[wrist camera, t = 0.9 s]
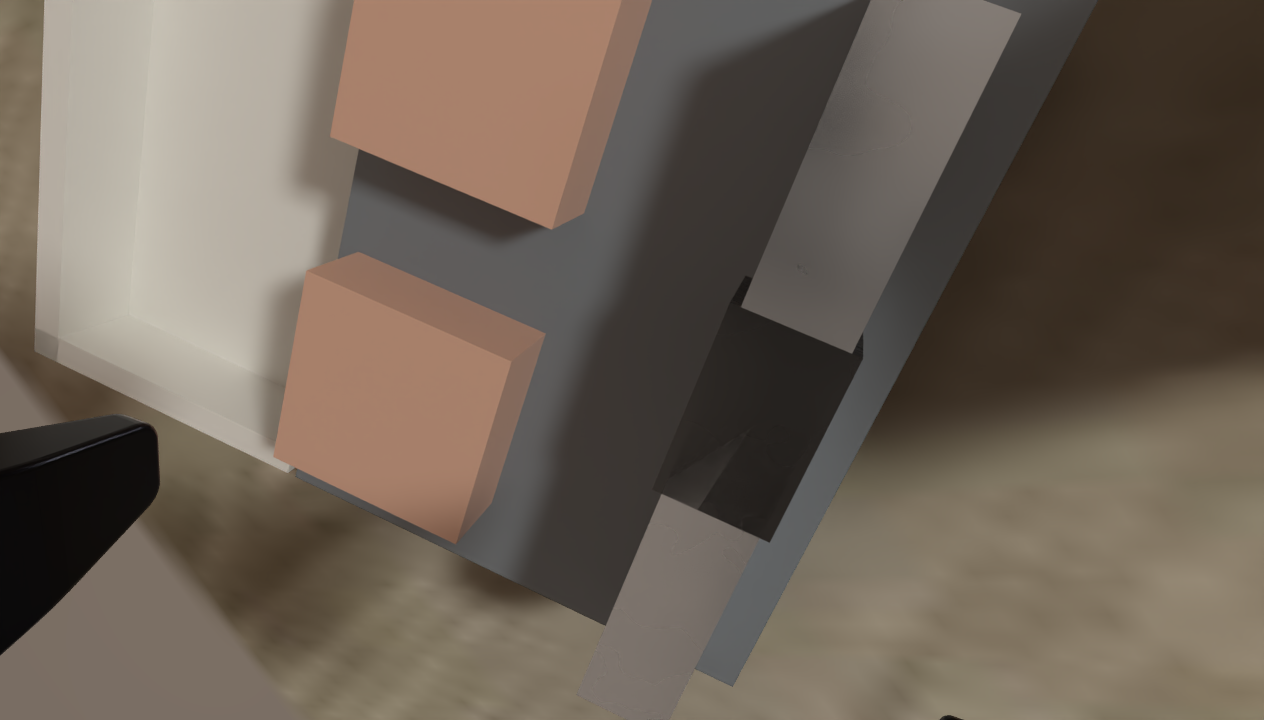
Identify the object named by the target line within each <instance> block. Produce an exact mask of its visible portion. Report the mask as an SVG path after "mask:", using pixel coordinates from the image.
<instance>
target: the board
mask: <svg viewBox="0 0 1264 720" xmlns="http://www.w3.org/2000/svg"><path fill="white" fill-rule="evenodd" d="M870 1H871V0H652V2H651V5H650V9H649V12H648V15H647V18H646V21H645V24H644V27H643V30H642V34H641V37H640V40H639V43H638V46H637V49H636V52H635V56H634V59H633V62H632V65H631V68H630V71H629V74H628V77H627V81H626V84H625V87H624V90H623V93H622V96H621V99H620V103H619V106H618V109H617V112H616V115H615V118H614V121H613V124H612V128H611V131H610V134H609V137H608V140H607V143H606V146H605V149H604V153H603V156H602V159H601V162H600V165H599V168H598V171H597V175H596V178H595V181H594V184H593V187H592V190H591V193H590V196H589V200H588V203H587V206H586V209H585V212H584V214H582V215H580V216H578V217H576V218H574V219H572V220H570V221H568V222H566V223H564V224H562V225H560V226H558V227H556V228H554V229H552V230H551V229H549V228H547V227H544V226H542V225H539V224H537V223H535V222H532V221H530V220H528V219H525V218H523V217H520V216H518V215H516V214H513V213H511V212H509V211H506V210H504V209H501V208H499V207H497V206H494V205H492V204H489V203H487V202H485V201H482V200H480V199H478V198H475V197H473V196H470V195H468V194H466V193H463V192H461V191H458V190H456V189H454V188H451V187H449V186H447V185H444V184H442V183H439V182H437V181H435V180H432V179H430V178H427V177H425V176H423V175H420V174H418V173H416V172H413V171H411V170H408V169H406V168H404V167H401V166H399V165H396V164H394V163H392V162H389V161H387V160H385V159H382V158H380V157H377V156H375V155H373V154H370V153H368V152H365V151H363V150H361V149H359V151H358V156H357V161H356V166H355V171H354V177H353V182H352V187H351V192H350V197H349V203H348V208H347V213H346V218H345V223H344V228H343V234H342V239H341V244H340V249H339V254H338V259H340V258H342V257H345V256H348V255H351V254H354V253H356V252H360V253H363V254H365V255H367V256H370V257H372V258H374V259H376V260H379V261H381V262H383V263H386V264H388V265H390V266H392V267H395V268H397V269H399V270H402V271H404V272H406V273H408V274H411V275H413V276H415V277H418V278H420V279H422V280H424V281H427V282H429V283H431V284H434V285H436V286H438V287H440V288H443V289H445V290H447V291H450V292H452V293H454V294H456V295H459V296H461V297H463V298H466V299H468V300H470V301H473V302H475V303H477V304H479V305H482V306H484V307H486V308H489V309H491V310H493V311H495V312H498V313H500V314H502V315H505V316H507V317H509V318H511V319H514V320H516V321H518V322H521V323H523V324H525V325H527V326H530V327H532V328H534V329H537V330H539V331H541V332H543V333H546V334H545V337H544V340H543V344H542V347H541V350H540V353H539V356H538V359H537V362H536V366H535V369H534V372H533V375H532V378H531V381H530V384H529V387H528V391H527V394H526V397H525V400H524V403H523V406H522V409H521V412H520V416H519V419H518V422H517V425H516V428H515V431H514V434H513V438H512V441H511V444H510V447H509V450H508V453H507V456H506V459H505V463H504V466H503V469H502V472H501V475H500V478H499V481H498V484H497V488H496V491H495V494H494V497H493V500H492V503H491V504H490V505H489V507H488V508H487V509H486V510H485V511H484V512H483V514H482V515H481V516H480V517H479V518H478V519H477V520H476V522H475V523H474V524H473V525H472V526H471V527H470V529H469V530H468V531H467V532H466V533H465V534H464V536H463V537H462V538H461V539H460V540H459V541H458V543H457V544H454V543H452V542H450V541H448V540H446V539H443V538H441V537H439V536H437V535H435V534H433V533H431V532H429V531H427V530H425V529H423V528H421V527H418V526H416V525H414V524H412V523H410V522H408V521H406V520H404V519H402V518H400V517H398V516H395V515H393V514H391V513H389V512H387V511H385V510H383V509H381V508H379V507H377V506H375V505H372V504H370V503H368V502H366V501H364V500H362V499H360V498H358V497H356V496H354V495H352V494H350V493H347V492H345V491H343V490H341V489H339V488H337V487H335V486H333V485H331V484H329V483H327V482H324V481H322V480H320V479H318V478H316V477H314V476H312V475H310V474H308V473H306V472H304V471H302V470H299V469H297V472H296V477H297V478H299V479H301V480H303V481H305V482H307V483H309V484H312V485H314V486H316V487H318V488H320V489H322V490H324V491H326V492H328V493H330V494H332V495H334V496H336V497H339V498H341V499H343V500H345V501H347V502H349V503H351V504H353V505H355V506H357V507H359V508H361V509H364V510H366V511H368V512H370V513H372V514H374V515H376V516H378V517H380V518H382V519H384V520H386V521H389V522H391V523H393V524H395V525H397V526H399V527H401V528H403V529H405V530H407V531H409V532H411V533H413V534H416V535H418V536H420V537H422V538H424V539H426V540H428V541H430V542H432V543H434V544H436V545H438V546H441V547H443V548H445V549H447V550H449V551H451V552H453V553H455V554H457V555H459V556H461V557H463V558H466V559H468V560H470V561H472V562H474V563H476V564H478V565H480V566H482V567H484V568H486V569H488V570H490V571H493V572H495V573H497V574H499V575H501V576H503V577H505V578H507V579H509V580H511V581H513V582H515V583H518V584H520V585H522V586H524V587H526V588H528V589H530V590H532V591H534V592H536V593H538V594H540V595H543V596H545V597H547V598H549V599H551V600H553V601H555V602H557V603H559V604H561V605H563V606H565V607H567V608H570V609H572V610H574V611H576V612H578V613H580V614H582V615H584V616H586V617H588V618H590V619H592V620H595V621H597V622H599V623H601V624H603V625H605V626H606V624H607V622H608V619H609V617H610V615H611V612H612V610H613V607H614V605H615V603H616V600H617V598H618V596H619V593H620V591H621V589H622V586H623V584H624V582H625V579H626V577H627V574H628V572H629V570H630V567H631V565H632V563H633V560H634V558H635V556H636V553H637V551H638V548H639V546H640V544H641V541H642V539H643V537H644V534H645V532H646V530H647V527H648V525H649V523H650V520H651V518H652V515H653V513H654V511H655V508H656V506H657V504H658V501H659V499H660V497H661V493H659V492H657V491H654V490H652V488H653V486H654V484H655V481H656V479H657V476H658V474H659V472H660V469H661V467H662V464H663V462H664V460H665V457H666V455H667V452H668V450H669V448H670V445H671V443H672V440H673V438H674V436H675V433H676V431H677V428H678V426H679V424H680V421H681V419H682V416H683V414H684V412H685V409H686V407H687V404H688V402H689V400H690V397H691V395H692V392H693V390H694V388H695V385H696V383H697V380H698V378H699V376H700V373H701V371H702V368H703V366H704V364H705V361H706V359H707V356H708V354H709V352H710V349H711V347H712V344H713V342H714V340H715V337H716V335H717V332H718V330H719V328H720V325H721V323H722V320H723V318H724V316H725V313H726V311H727V308H728V306H729V304H730V301H731V300H732V298H733V296H734V295H735V293H736V291H737V289H738V288H739V286H740V284H741V282H742V281H743V279H744V277H745V276H748V277H751V278H753V277H754V275H755V272H756V270H757V268H758V265H759V263H760V261H761V258H762V256H763V254H764V251H765V249H766V246H767V244H768V242H769V239H770V237H771V235H772V232H773V230H774V228H775V225H776V223H777V221H778V218H779V216H780V213H781V211H782V209H783V206H784V204H785V202H786V199H787V197H788V195H789V192H790V190H791V188H792V185H793V183H794V180H795V178H796V176H797V173H798V171H799V169H800V166H801V164H802V162H803V159H804V157H805V154H806V152H807V150H808V147H809V145H810V143H811V140H812V138H813V136H814V133H815V131H816V129H817V126H818V124H819V121H820V119H821V117H822V114H823V112H824V110H825V107H826V105H827V103H828V100H829V98H830V95H831V93H832V91H833V88H834V86H835V84H836V81H837V79H838V77H839V74H840V72H841V70H842V67H843V65H844V62H845V60H846V58H847V55H848V53H849V51H850V48H851V46H852V44H853V41H854V39H855V37H856V34H857V32H858V29H859V27H860V25H861V22H862V20H863V18H864V15H865V13H866V11H867V8H868V6H869V3H870ZM984 1H987V2H990V3H992V4H995V5H998V6H1001V7H1004V8H1007V9H1009V10H1012V11H1015V12H1018V13H1021V16H1020V18H1019V20H1018V22H1017V24H1016V26H1015V28H1014V30H1013V32H1012V34H1011V36H1010V38H1009V40H1008V42H1007V44H1006V46H1005V48H1004V50H1003V52H1002V54H1001V56H1000V58H999V60H998V62H997V64H996V66H995V68H994V70H993V72H992V74H991V76H990V78H989V80H988V82H987V84H986V86H985V88H984V90H983V92H982V94H981V96H980V98H979V100H978V102H977V104H976V106H975V108H974V110H973V112H972V114H971V116H970V118H969V120H968V122H967V124H966V126H965V128H964V130H963V132H962V134H961V136H960V138H959V140H958V142H957V144H956V146H955V148H954V150H953V152H952V154H951V156H950V158H949V160H948V162H947V164H946V166H945V168H944V170H943V172H942V174H941V176H940V178H939V180H938V182H937V184H936V186H935V188H934V190H933V192H932V194H931V196H930V198H929V200H928V202H927V204H926V206H925V208H924V210H923V212H922V214H921V216H920V218H919V220H918V222H917V224H916V226H915V228H914V230H913V232H912V234H911V236H910V238H909V240H908V242H907V244H906V246H905V248H904V250H903V252H902V254H901V256H900V258H899V260H898V262H897V264H896V266H895V268H894V270H893V272H892V274H891V276H890V278H889V280H888V282H887V284H886V286H885V288H884V290H883V292H882V294H881V296H880V298H879V300H878V302H877V304H876V306H875V308H874V310H873V312H872V314H871V316H870V318H869V320H868V322H867V324H866V326H865V328H864V330H863V360H862V362H861V364H860V366H859V368H858V370H857V372H856V374H855V376H854V378H853V380H852V382H851V384H850V386H849V388H848V390H847V391H846V393H845V395H844V397H843V399H842V401H841V403H840V405H839V407H838V409H837V411H836V413H835V415H834V417H833V419H832V421H831V423H830V425H829V427H828V429H827V431H826V433H825V435H824V437H823V439H822V441H821V443H820V445H819V447H818V449H817V451H816V453H815V455H814V457H813V459H812V461H811V462H810V464H809V466H808V468H807V470H806V472H805V474H804V476H803V478H802V480H801V482H800V484H799V486H798V488H797V490H796V492H795V494H794V496H793V498H792V500H791V502H790V504H789V506H788V508H787V510H786V512H785V514H784V516H783V518H782V520H781V522H780V524H779V526H778V528H777V530H776V532H775V534H774V535H773V537H772V539H771V541H770V543H769V542H767V541H764V540H762V539H759V541H758V543H757V545H756V547H755V549H754V551H753V553H752V555H751V557H750V559H749V561H748V563H747V565H746V567H745V569H744V571H743V573H742V575H741V577H740V579H739V581H738V583H737V585H736V587H735V589H734V591H733V593H732V595H731V597H730V599H729V601H728V603H727V605H726V607H725V609H724V611H723V613H722V615H721V617H720V619H719V621H718V623H717V625H716V627H715V629H714V631H713V633H712V635H711V637H710V639H709V641H708V643H707V645H706V647H705V649H704V651H703V653H702V655H701V657H700V659H699V661H698V663H697V665H696V667H695V669H697V670H699V671H701V672H703V673H705V674H707V675H709V676H711V677H713V678H715V679H717V680H719V681H721V682H724V683H726V684H728V685H730V686H732V687H733V685H734V683H735V681H736V679H737V678H738V676H739V674H740V672H741V670H742V668H743V666H744V664H745V663H746V661H747V659H748V657H749V655H750V653H751V651H752V649H753V648H754V646H755V644H756V642H757V640H758V638H759V636H760V634H761V632H762V631H763V629H764V627H765V625H766V623H767V621H768V619H769V617H770V616H771V614H772V612H773V610H774V608H775V606H776V604H777V602H778V601H779V599H780V597H781V595H782V593H783V591H784V589H785V587H786V586H787V584H788V582H789V580H790V578H791V576H792V574H793V572H794V570H795V569H796V567H797V565H798V563H799V561H800V559H801V557H802V555H803V554H804V552H805V550H806V548H807V546H808V544H809V542H810V540H811V539H812V537H813V535H814V533H815V531H816V529H817V527H818V525H819V524H820V522H821V520H822V518H823V516H824V514H825V512H826V510H827V509H828V507H829V505H830V503H831V501H832V499H833V497H834V495H835V493H836V492H837V490H838V488H839V486H840V484H841V482H842V480H843V478H844V477H845V475H846V473H847V471H848V469H849V467H850V465H851V463H852V462H853V460H854V458H855V456H856V454H857V452H858V450H859V448H860V447H861V445H862V443H863V441H864V439H865V437H866V435H867V433H868V431H869V430H870V428H871V426H872V424H873V422H874V420H875V418H876V416H877V415H878V413H879V411H880V409H881V407H882V405H883V403H884V401H885V400H886V398H887V396H888V394H889V392H890V390H891V388H892V386H893V385H894V383H895V381H896V379H897V377H898V375H899V373H900V371H901V370H902V368H903V366H904V364H905V362H906V360H907V358H908V356H909V354H910V353H911V351H912V349H913V347H914V345H915V343H916V341H917V339H918V338H919V336H920V334H921V332H922V330H923V328H924V326H925V324H926V323H927V321H928V319H929V317H930V315H931V313H932V311H933V309H934V308H935V306H936V304H937V302H938V300H939V298H940V296H941V294H942V293H943V291H944V289H945V287H946V285H947V283H948V281H949V279H950V277H951V276H952V274H953V272H954V270H955V268H956V266H957V264H958V262H959V261H960V259H961V257H962V255H963V253H964V251H965V249H966V247H967V246H968V244H969V242H970V240H971V238H972V236H973V234H974V232H975V231H976V229H977V227H978V225H979V223H980V221H981V219H982V217H983V215H984V214H985V212H986V210H987V208H988V206H989V204H990V202H991V200H992V199H993V197H994V195H995V193H996V191H997V189H998V187H999V185H1000V184H1001V182H1002V180H1003V178H1004V176H1005V174H1006V172H1007V170H1008V169H1009V167H1010V165H1011V163H1012V161H1013V159H1014V157H1015V155H1016V154H1017V152H1018V150H1019V148H1020V146H1021V144H1022V142H1023V140H1024V138H1025V137H1026V135H1027V133H1028V131H1029V129H1030V127H1031V125H1032V123H1033V122H1034V120H1035V118H1036V116H1037V114H1038V112H1039V110H1040V108H1041V107H1042V105H1043V103H1044V101H1045V99H1046V97H1047V95H1048V93H1049V92H1050V90H1051V88H1052V86H1053V84H1054V82H1055V80H1056V78H1057V76H1058V75H1059V73H1060V71H1061V69H1062V67H1063V65H1064V63H1065V61H1066V60H1067V58H1068V56H1069V54H1070V52H1071V50H1072V48H1073V46H1074V45H1075V43H1076V41H1077V39H1078V37H1079V35H1080V33H1081V31H1082V30H1083V28H1084V26H1085V24H1086V22H1087V20H1088V18H1089V16H1090V15H1091V13H1092V11H1093V9H1094V7H1095V5H1096V3H1097V1H1098V0H984Z"/></svg>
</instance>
